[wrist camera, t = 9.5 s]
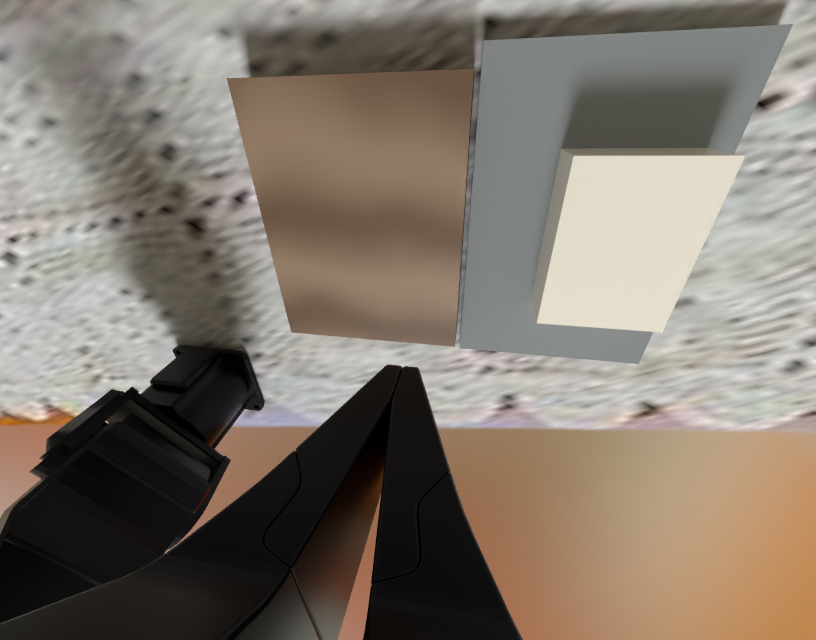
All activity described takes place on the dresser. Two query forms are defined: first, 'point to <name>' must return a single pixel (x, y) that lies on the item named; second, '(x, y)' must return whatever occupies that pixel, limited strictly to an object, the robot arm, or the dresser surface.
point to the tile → (626, 233)
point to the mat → (587, 128)
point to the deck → (362, 197)
